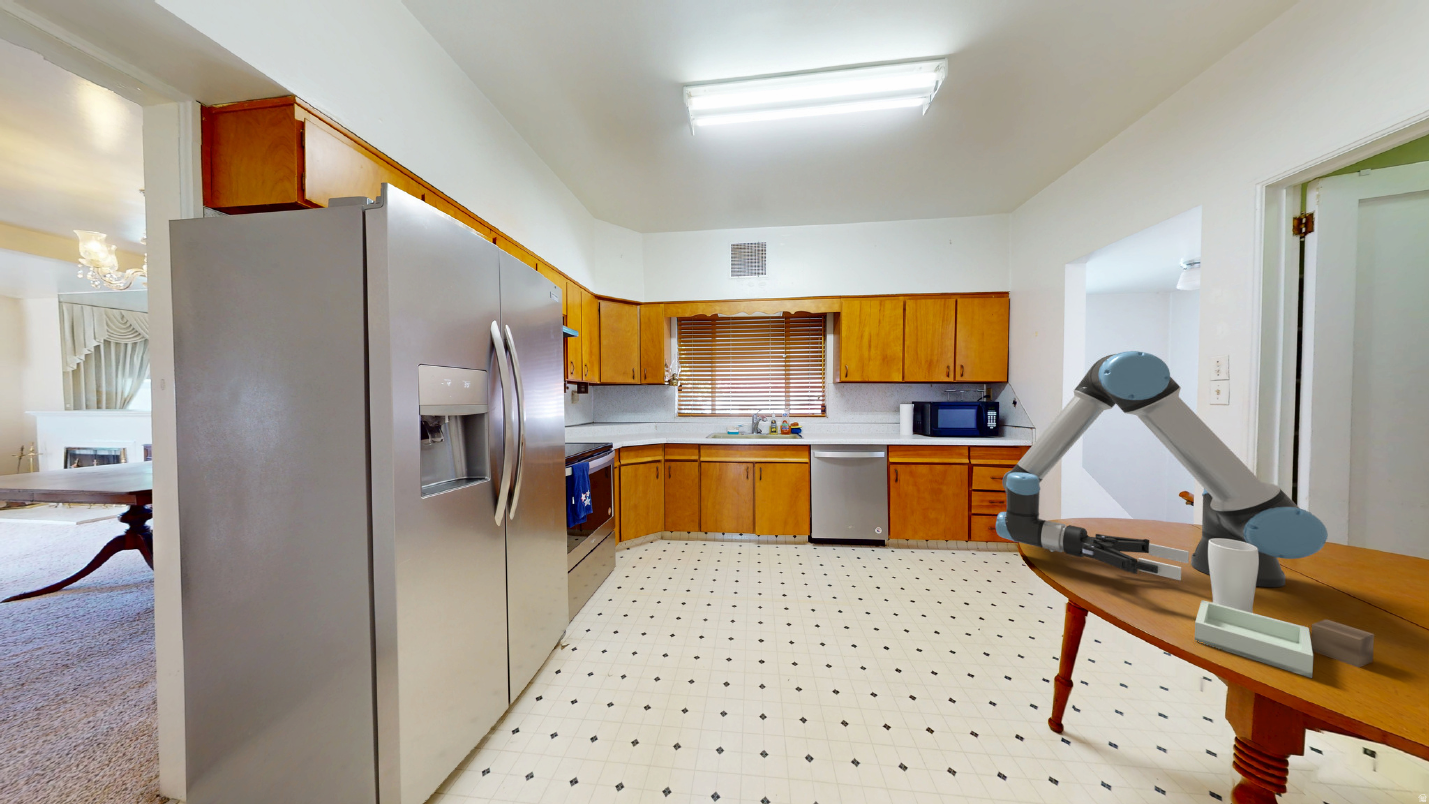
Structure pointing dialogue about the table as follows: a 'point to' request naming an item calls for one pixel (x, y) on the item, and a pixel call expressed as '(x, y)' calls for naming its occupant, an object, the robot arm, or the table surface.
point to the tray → (1255, 637)
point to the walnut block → (1342, 643)
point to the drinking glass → (1233, 573)
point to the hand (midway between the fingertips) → (1185, 565)
